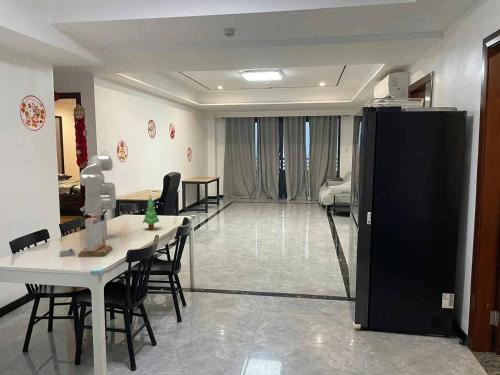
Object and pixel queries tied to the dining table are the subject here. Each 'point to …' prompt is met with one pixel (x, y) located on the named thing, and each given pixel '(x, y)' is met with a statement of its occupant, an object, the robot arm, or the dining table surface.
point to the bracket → (67, 253)
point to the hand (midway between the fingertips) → (94, 220)
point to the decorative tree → (150, 215)
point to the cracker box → (95, 233)
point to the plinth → (96, 252)
